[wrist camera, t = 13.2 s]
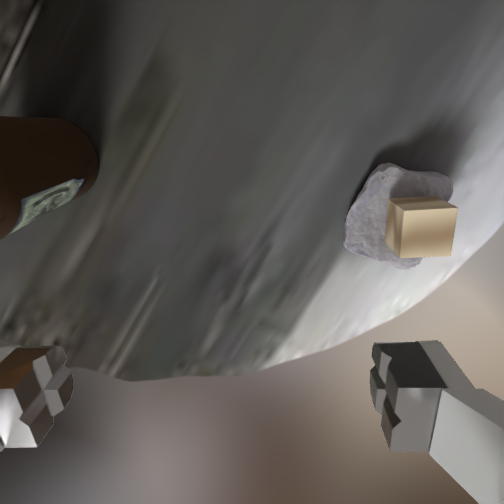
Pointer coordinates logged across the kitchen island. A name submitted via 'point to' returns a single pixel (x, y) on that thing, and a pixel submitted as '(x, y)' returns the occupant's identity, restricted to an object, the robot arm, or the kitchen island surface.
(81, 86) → the kitchen island surface
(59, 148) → the olive oil
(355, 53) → the kitchen island surface
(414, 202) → the maple block
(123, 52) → the kitchen island surface
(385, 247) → the stone block
